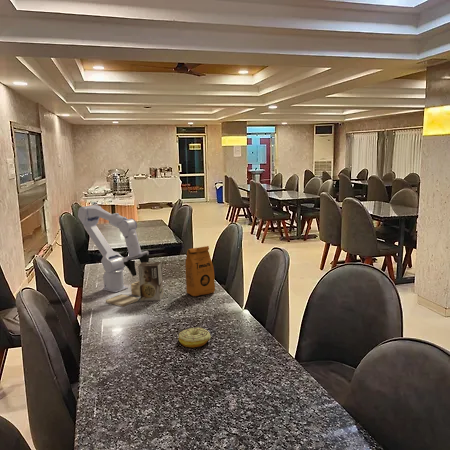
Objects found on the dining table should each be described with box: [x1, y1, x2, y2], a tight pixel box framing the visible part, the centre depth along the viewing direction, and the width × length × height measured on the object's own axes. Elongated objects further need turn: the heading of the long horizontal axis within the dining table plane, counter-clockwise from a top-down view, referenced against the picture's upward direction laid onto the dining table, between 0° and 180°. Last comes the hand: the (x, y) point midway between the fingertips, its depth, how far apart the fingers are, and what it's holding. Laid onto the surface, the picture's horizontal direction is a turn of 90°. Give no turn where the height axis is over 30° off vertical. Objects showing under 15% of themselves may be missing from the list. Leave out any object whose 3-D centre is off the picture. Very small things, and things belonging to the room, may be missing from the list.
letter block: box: [130, 281, 141, 297], centre depth 190 cm, size 5×5×5 cm
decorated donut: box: [178, 327, 212, 348], centre depth 139 cm, size 10×11×4 cm
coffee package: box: [184, 245, 216, 297], centre depth 186 cm, size 10×12×22 cm
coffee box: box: [137, 261, 164, 302], centre depth 182 cm, size 9×6×16 cm
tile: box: [105, 293, 139, 308], centre depth 181 cm, size 11×9×1 cm
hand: (140, 273), depth 188 cm, fingers open, 7 cm apart
